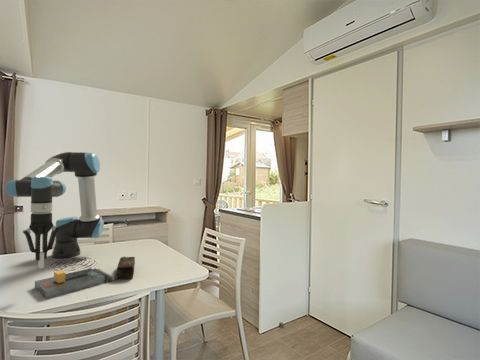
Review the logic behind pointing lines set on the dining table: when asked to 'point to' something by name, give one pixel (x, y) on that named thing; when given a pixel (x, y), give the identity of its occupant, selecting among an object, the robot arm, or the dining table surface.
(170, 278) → the dining table surface
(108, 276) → the grey rounded bar
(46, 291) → the breaker panel
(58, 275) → the toggle
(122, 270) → the beverage carton
